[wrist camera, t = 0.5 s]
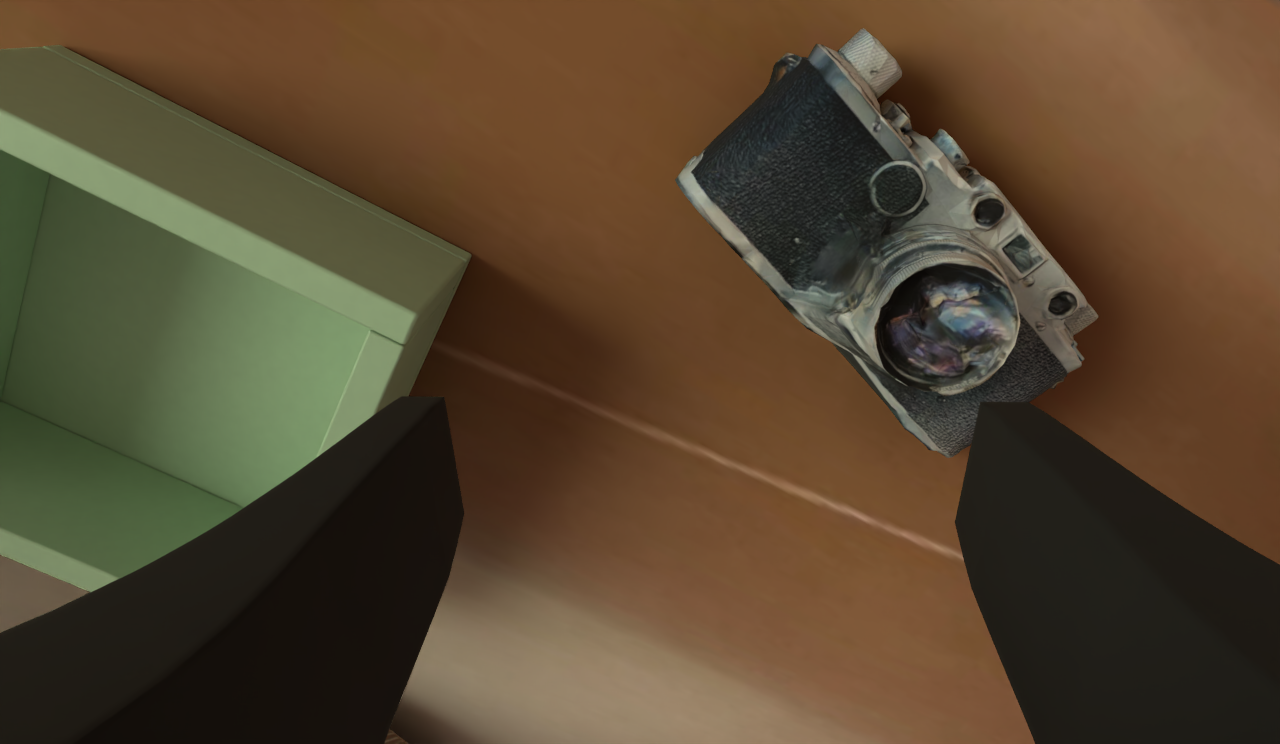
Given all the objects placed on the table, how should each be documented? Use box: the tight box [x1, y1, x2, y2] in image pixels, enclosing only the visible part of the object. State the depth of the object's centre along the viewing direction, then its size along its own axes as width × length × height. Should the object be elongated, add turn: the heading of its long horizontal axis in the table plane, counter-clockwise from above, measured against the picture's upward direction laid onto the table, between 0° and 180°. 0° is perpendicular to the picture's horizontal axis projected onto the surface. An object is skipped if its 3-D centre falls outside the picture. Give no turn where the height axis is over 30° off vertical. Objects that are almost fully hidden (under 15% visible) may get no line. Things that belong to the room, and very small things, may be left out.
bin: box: [0, 45, 471, 592], centre depth 20 cm, size 11×11×5 cm
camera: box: [675, 28, 1099, 458], centre depth 18 cm, size 5×10×4 cm, turn 44°
